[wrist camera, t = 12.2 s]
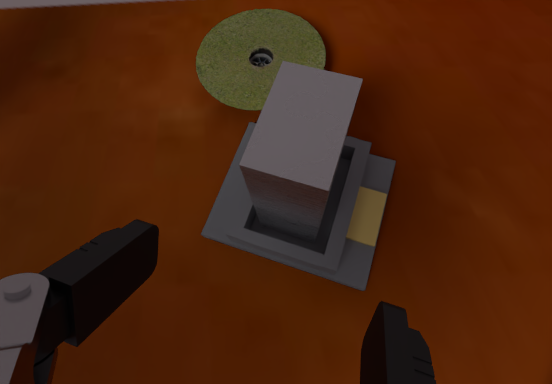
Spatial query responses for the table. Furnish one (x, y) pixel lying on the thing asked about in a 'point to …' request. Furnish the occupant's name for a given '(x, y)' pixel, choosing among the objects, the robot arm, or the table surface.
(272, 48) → the green round disc
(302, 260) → the grey tray
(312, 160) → the tall grey rectangular box
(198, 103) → the table surface
